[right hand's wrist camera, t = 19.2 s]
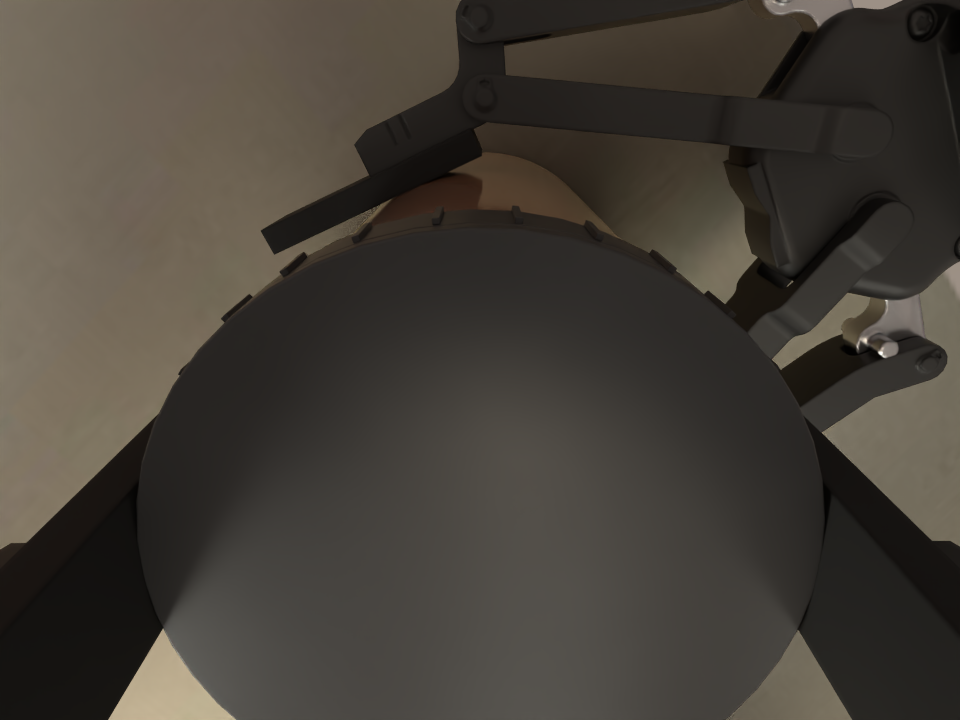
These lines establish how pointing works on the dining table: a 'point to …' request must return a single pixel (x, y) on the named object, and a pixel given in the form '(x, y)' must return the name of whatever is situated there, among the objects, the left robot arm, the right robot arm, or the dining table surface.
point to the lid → (480, 486)
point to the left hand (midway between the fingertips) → (363, 381)
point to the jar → (492, 193)
